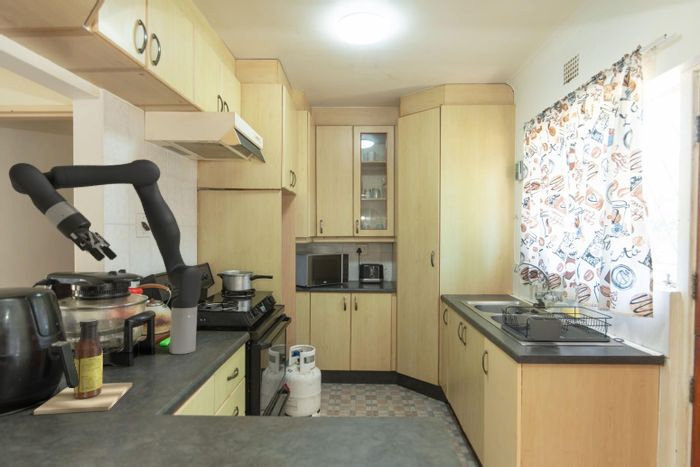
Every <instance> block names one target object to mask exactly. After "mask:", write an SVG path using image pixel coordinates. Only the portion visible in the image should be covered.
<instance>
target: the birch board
mask: <svg viewBox="0 0 700 467" xmlns="http://www.w3.org/2000/svg"><path fill="white" fill-rule="evenodd" d="M132 387H133V382H116V383H114V382H113V383H102V390H101V393H100V394H98V395H96V396H94V397H90V398H84V399H79V398H75V397H74V393H75V392H74V388H69V387H68V386H67V387H66V388H64V389H63V390H61V391H60V392H58V393H57V394H55V395H54V396H52V397H51V398H50V399H48V400H47V401H45V402H44V403H42V404H41V405H40V406H39V407H37V408H36V409H34V410H33V416H35V415H51V414H54V415H55V414H67V413H84V412H85V413H89V412H103V411H104V412H105V411H109V410H110V409H112V407H113V406H114V405H115V404H116V403H117V402H118V401H119V400H120V399H121V398H122V397H123V396H124V395H125V394H126V393H127V392H128V391H129V390H130V389H131V388H132Z"/></svg>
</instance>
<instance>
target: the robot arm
mask: <svg viewBox="0 0 700 467" xmlns="http://www.w3.org/2000/svg"><path fill="white" fill-rule="evenodd" d="M8 177H9V181H10V183H11V186H12V188H13V190H14V191H15V192H16V193H18V194H21V195H27V196H28V197H29V198H30V200H31V201H32V204H33V206H35V208H36V209H37V210H38V211H40V213H42V215H44V216H45V217H46V219H47V220H48V221H49V222H50V223H51V225H53V226H54V227H55V228H56V230H58V231H59V232H60V233H61V234H62V235H63V236H64V237H65V238H66V239H69V240H71V241H72V243H74V245H75V246H77V247H78V248H79V249H80V251H82V252H86V253H88V254H90V255H91V256H92V257H93V258H94V259H95V260H96V261H97V262H101V261H103V260H104V259H105V258H106V257H107V258H108V259H109V260H110V261H113V260H114V259H116V258H117V257H118V255H117V254H116V253H115V251H113V250H112V249H111V247H110V246H111V244H110V242H108V241H107V240H106V239H105V238H104V237H102V235H101V234H99V232H97V231H95V232H94V231H90V227H91V226H92V223H91V221H90V220H89V219H88V218H87V217H85V215H84V214H83V213H81V211H80V210H78V208H76V206H74V205H73V204H71V203H70V202H69V201H68V200H67V199H66V198H65V197H64V196H63V195H62V194H60V193H59V191H57V190H61V189H62V190H63V189H74V188H76V189H79V188H87V187H97V186H106V185H123V184H124V185H127V184H128V185H131V186H132V187H133V189H134V191H135V192H136V194H137V196H138V198H139V201H140V203H141V206H142V209H143V212H144V216H145V218H146V221H147V224H148V226H149V229H150V231H151V232H150V233H151V235H152V237H153V239H154V240H155V243H156V246H157V248H158V251H159V254H160V256H161V258H162V261H163V265H164V269H165V272H166V275H167V279H168V281H169V283H170V285H171V286H173V287H174V288H177V289H178V295H177V297H175V298H173V299H172V300H171V310H170V311H171V312H170V330H169V332H170V334H169V353H170V354H173V355H184V354H185V355H186V354H189V353H194V352H195V351H196V346H197V344H196V340H197V325H198V324H197V322H198V321H197V320H198V318H197V317H198V303H199V300H200V298H201V287H202V273H201V270H200V269H199V268H198V267H197V266H193V265H187V264H186V263H185V261H184V259H183V256H182V254H181V248H180V247H181V246H180V245H181V231H180V227H179V225H178V221H177V219H176V217H175V214H174V213H173V211H172V210H171V208H170V206H169V205H168V204H167V202H166V200H165V198H164V197H163V196H162V193H161V190H160V188H159V184H158V182H159V179H160V178H161V170H160V167H159V166H158V165H157V164H156V163H155V162H153V161H152V160H149V159H146V158H145V159H143V158H142V159H135V160H132V161H131V162H128V163H122V164H121V163H120V164H110V165H109V164H108V165H107V164H104V165H102V164H101V165H100V164H99V165H98V164H92V165H91V164H76V165H58V166H57V165H56V166H52V167H51V169H50V170H49V171H46V172H42V171H41V170H40V169H39V168H37V167H36V166H34V165H33V164H30V163H27V162H19V163H16V164H13V165H12V166H11V167H10V168H9V171H8Z"/></svg>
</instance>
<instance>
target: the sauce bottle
mask: <svg viewBox="0 0 700 467" xmlns="http://www.w3.org/2000/svg"><path fill="white" fill-rule="evenodd" d="M98 326H99V319H98V318H87V319H82V320H80V321H79V327H80V335H79V337H80V338H79V339H78V342H77V343H76V345H75V347H74V358H73V360H74V361H73V364H74V363H75V367H76V370H77V373H78V379H79V385H78V386H77V387H75V388H74V392H75V393H74V397H75V398H79V399H84V398H90V397H94V396H96V395H98V394H100V393H101V390H102V384H103V374H104V373H103V368H104V367H103V366H104V365H103V362H104V358H103V356H104V353H103V352H104V350H103V349H104V348H103V345H102V344H101V340H100V338H99V333H98Z"/></svg>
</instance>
